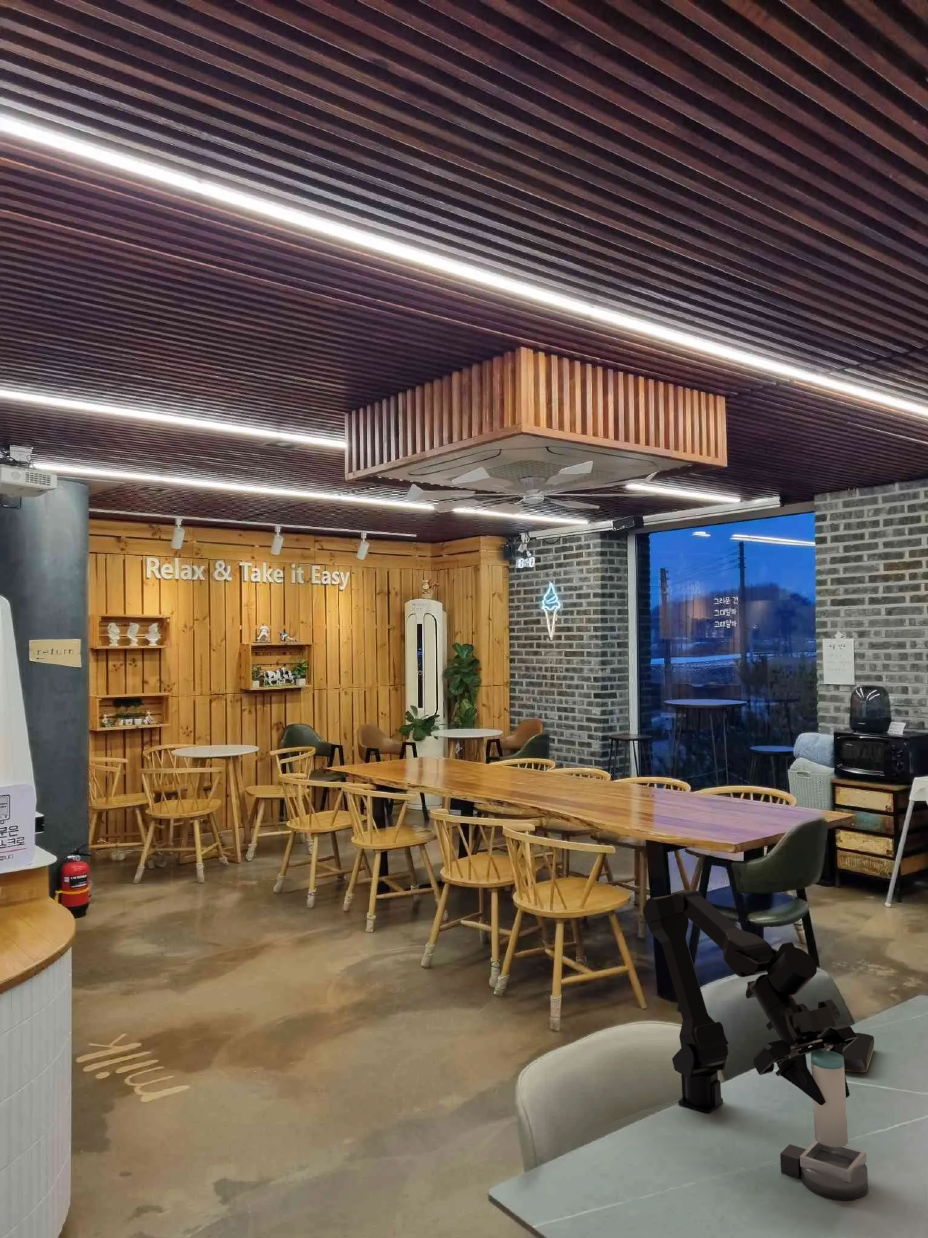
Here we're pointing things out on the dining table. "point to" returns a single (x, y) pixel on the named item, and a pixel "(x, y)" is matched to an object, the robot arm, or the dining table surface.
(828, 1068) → the beige teal capped bottle
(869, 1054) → the black sponge
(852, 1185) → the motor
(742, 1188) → the dining table surface
